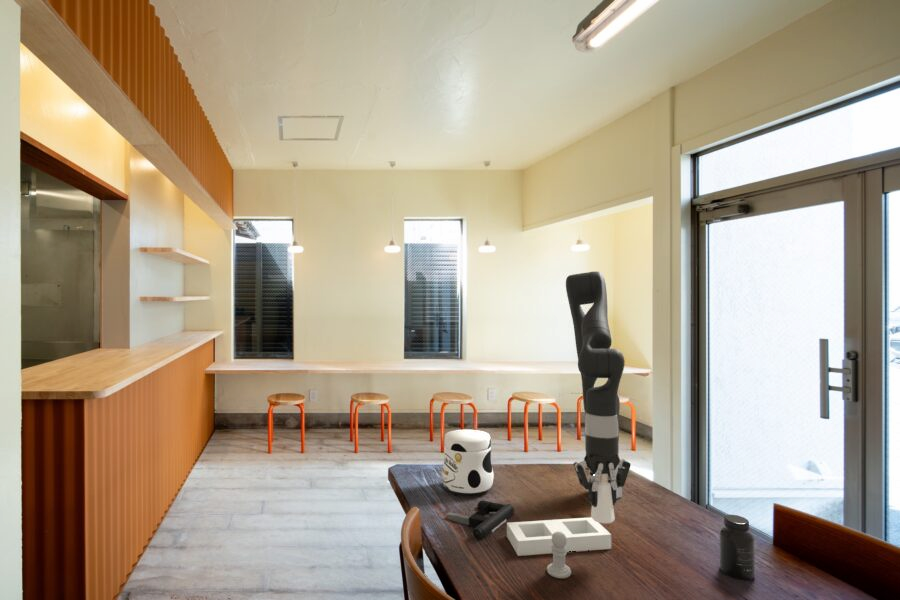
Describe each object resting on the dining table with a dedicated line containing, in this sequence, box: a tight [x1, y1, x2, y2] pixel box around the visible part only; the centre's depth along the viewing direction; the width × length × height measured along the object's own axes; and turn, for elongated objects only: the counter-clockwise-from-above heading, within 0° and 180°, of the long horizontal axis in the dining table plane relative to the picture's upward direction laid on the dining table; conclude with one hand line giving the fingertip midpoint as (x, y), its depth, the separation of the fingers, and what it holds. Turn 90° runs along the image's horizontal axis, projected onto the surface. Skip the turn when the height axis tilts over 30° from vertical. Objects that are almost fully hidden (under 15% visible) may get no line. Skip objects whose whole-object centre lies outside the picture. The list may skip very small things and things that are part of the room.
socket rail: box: [506, 516, 612, 557], centre depth 118 cm, size 24×10×4 cm, turn 99°
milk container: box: [441, 428, 495, 496], centre depth 154 cm, size 17×17×18 cm
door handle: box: [445, 500, 515, 540], centre depth 131 cm, size 3×20×16 cm
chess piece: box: [546, 532, 572, 580], centre depth 104 cm, size 5×5×9 cm
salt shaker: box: [590, 474, 616, 524], centre depth 110 cm, size 5×5×11 cm
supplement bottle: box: [718, 514, 756, 581], centre depth 105 cm, size 7×7×12 cm
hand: (602, 504), depth 110 cm, fingers closed on salt shaker, 3 cm apart
